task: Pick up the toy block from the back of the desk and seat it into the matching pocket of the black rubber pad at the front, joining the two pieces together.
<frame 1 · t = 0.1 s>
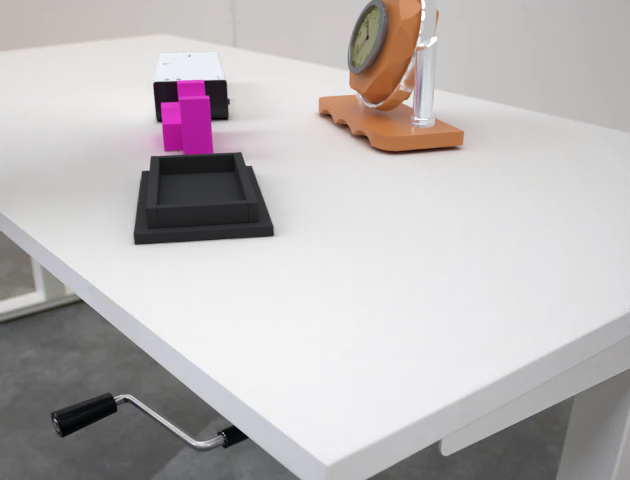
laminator: (195, 102, 133), on the table
toy block: (187, 146, 105), on the table
desk clock: (381, 130, 113), on the table
socket pad: (201, 204, 81), on the table
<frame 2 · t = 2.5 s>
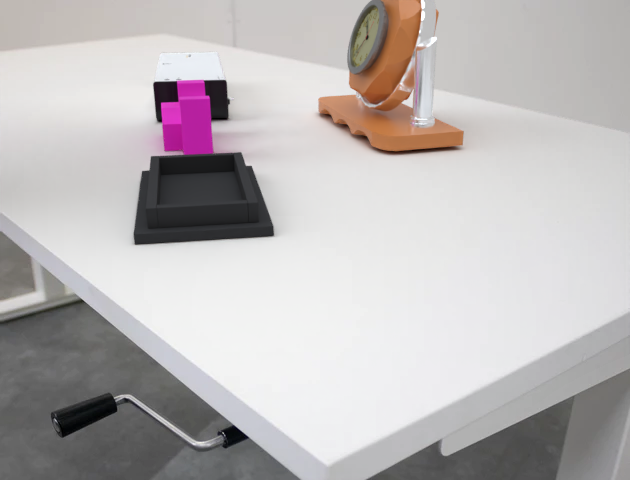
nothing on the table moved.
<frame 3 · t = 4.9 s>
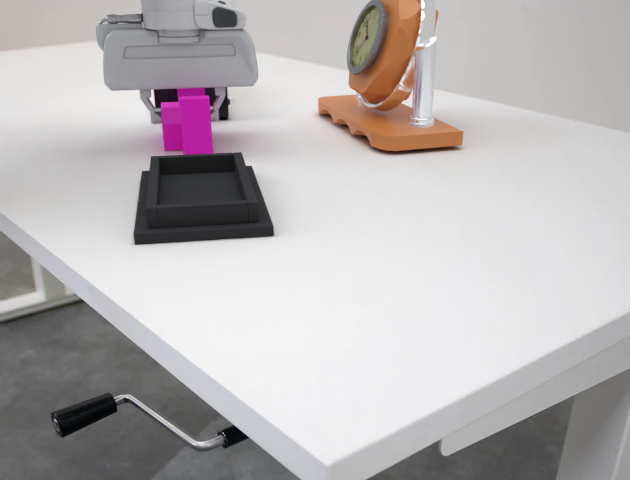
hand: (185, 121, 103), 3 cm above the table, tool pointing down, fingers closed on toy block, 6 cm apart
toy block: (187, 146, 105), on the table, touching gripper
everything else where it was.
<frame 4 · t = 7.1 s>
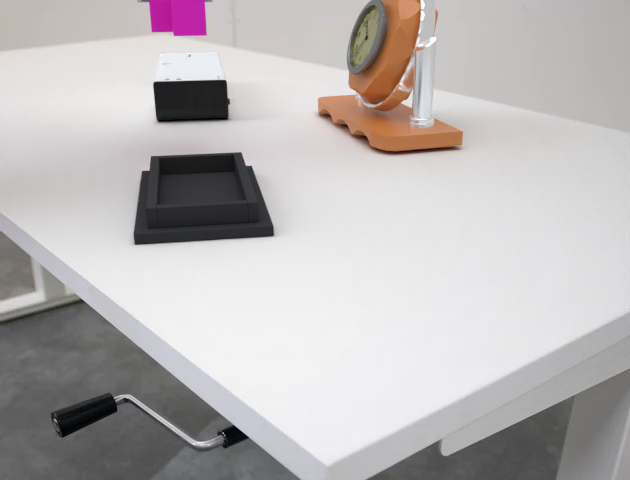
hand: (175, 2, 92), 19 cm above the table, tool pointing down, fingers closed on toy block, 6 cm apart
toy block: (177, 31, 94), point 15 cm above the table, touching gripper
everything else where it was.
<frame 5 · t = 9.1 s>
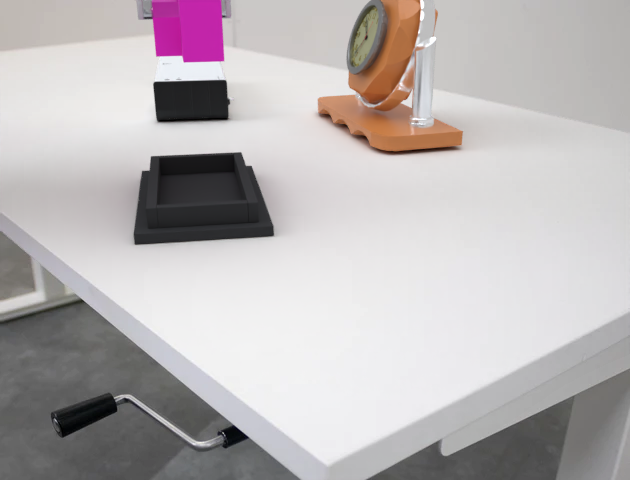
hand: (185, 18, 75), 18 cm above the table, tool pointing down, fingers closed on toy block, 6 cm apart
toy block: (187, 54, 77), point 15 cm above the table, touching gripper
everything else where it was.
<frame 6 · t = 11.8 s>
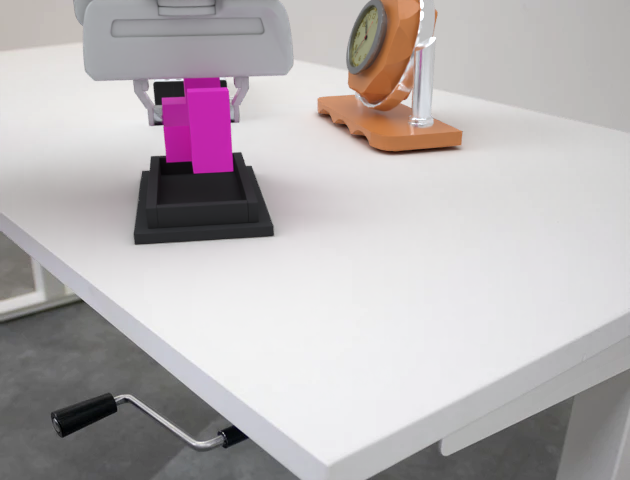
hand: (195, 123, 77), 9 cm above the table, tool pointing down, fingers closed on toy block, 6 cm apart
toy block: (196, 155, 79), point 5 cm above the table, touching gripper
everything else where it was.
when the fingers open (4 cm above the table, at t = 13.7 s): toy block stays where it is, resting on socket pad.
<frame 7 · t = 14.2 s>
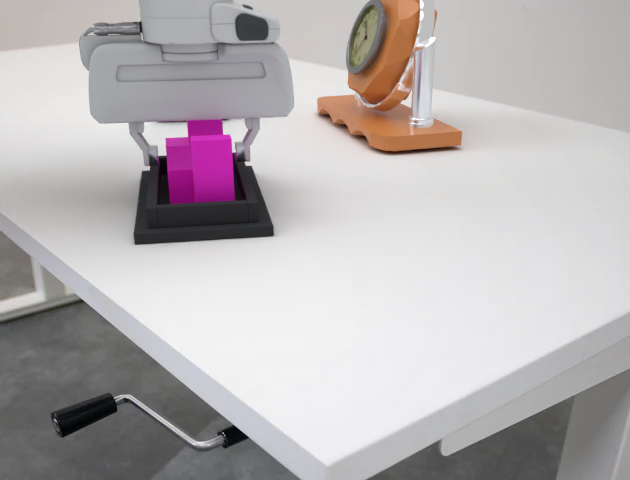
hand: (197, 162, 79), 5 cm above the table, tool pointing down, fingers open, 8 cm apart
toy block: (199, 196, 81), point 1 cm above the table, touching socket pad
everything else where it was.
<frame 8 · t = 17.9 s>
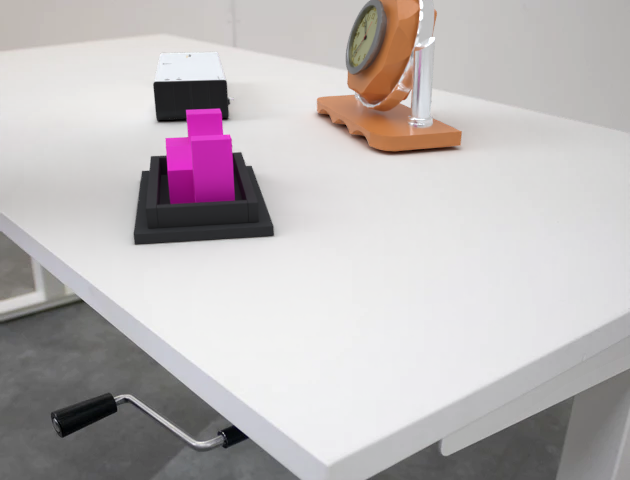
nothing on the table moved.
at the end: toy block 0.1 cm off-centre on the socket pad, point 0.8 cm above the socket pad's base; toy block tilted 0°; the gripper is holding nothing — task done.
